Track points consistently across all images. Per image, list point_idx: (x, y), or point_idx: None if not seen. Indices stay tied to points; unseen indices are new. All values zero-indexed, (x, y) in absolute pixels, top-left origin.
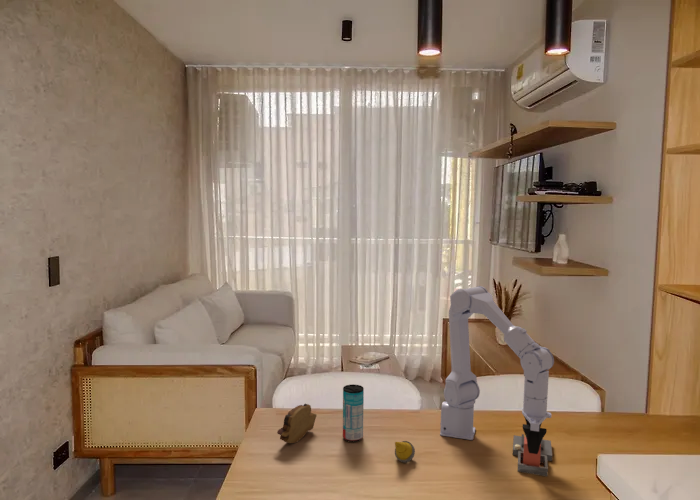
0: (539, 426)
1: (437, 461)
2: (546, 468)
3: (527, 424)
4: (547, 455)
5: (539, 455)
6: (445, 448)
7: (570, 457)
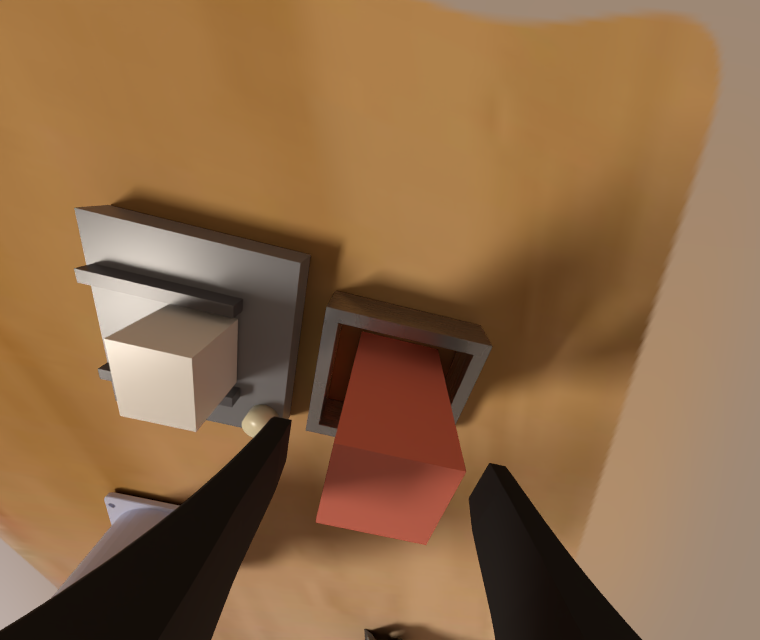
0: (224, 539)
1: (384, 593)
2: (485, 351)
3: (221, 607)
4: (298, 289)
5: (450, 415)
6: (298, 571)
7: (226, 105)
